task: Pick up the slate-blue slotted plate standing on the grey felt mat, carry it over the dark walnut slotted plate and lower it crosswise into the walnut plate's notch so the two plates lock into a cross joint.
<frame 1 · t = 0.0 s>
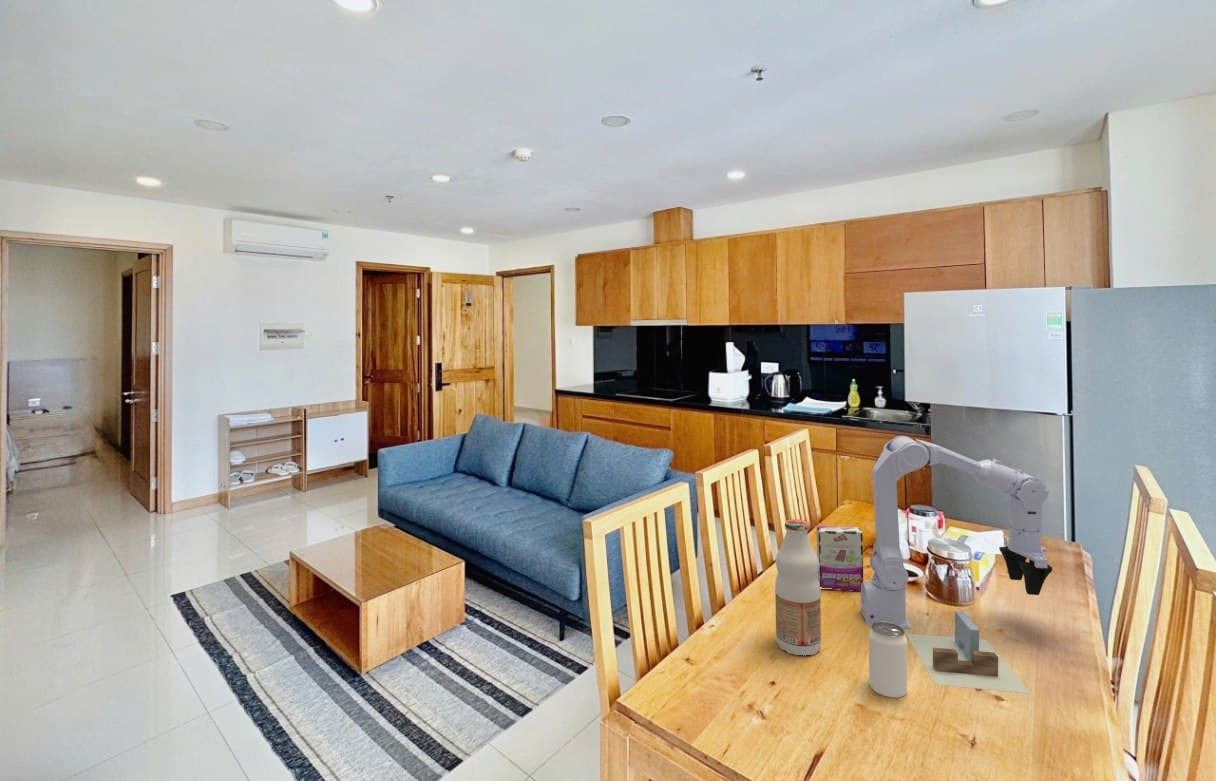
hand: (1023, 586, 122), 10 cm above the table, tool pointing down, fingers open, 7 cm apart
candy bar box: (839, 587, 148), on the table
felt mat: (962, 661, 112), on the table
blue slotted plate: (966, 652, 115), resting on felt mat
can: (887, 689, 104), on the table
fruit juice: (798, 646, 120), on the table
walnut slotted plate: (964, 671, 108), resting on felt mat
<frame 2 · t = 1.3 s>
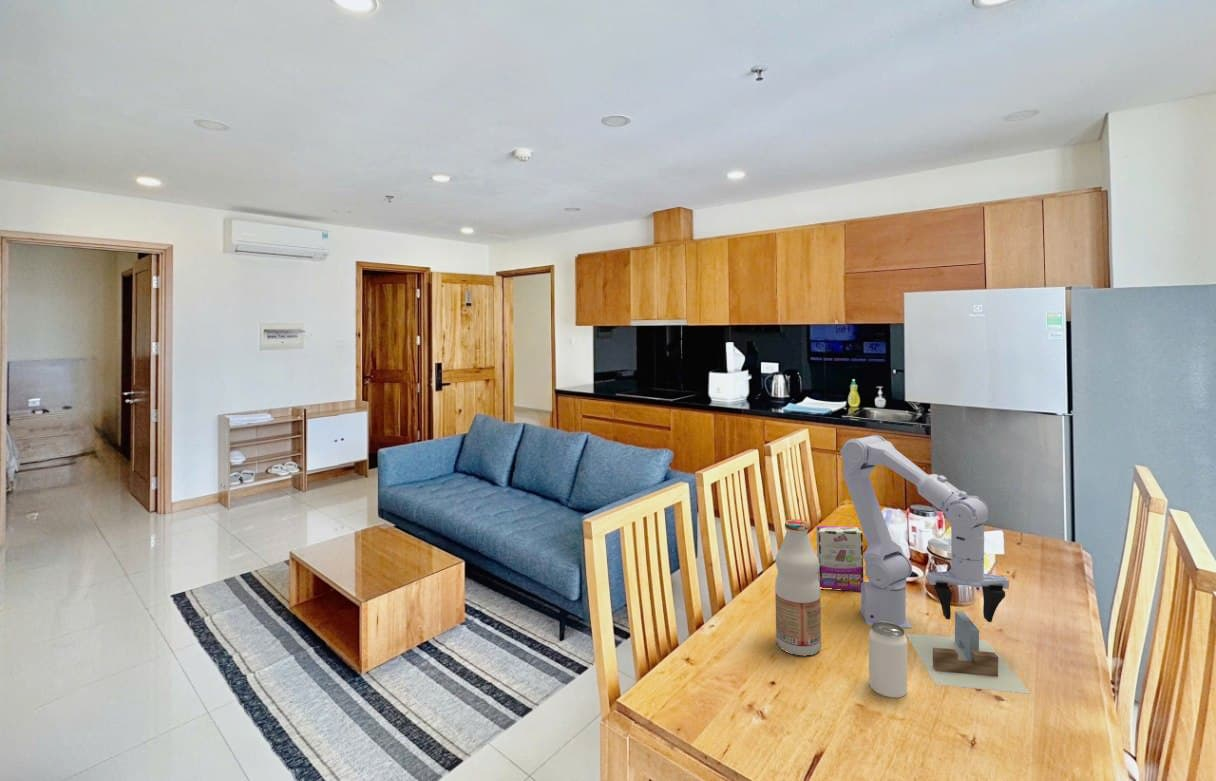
hand: (967, 618, 114), 8 cm above the table, tool pointing down, fingers open, 7 cm apart
nothing on the table moved.
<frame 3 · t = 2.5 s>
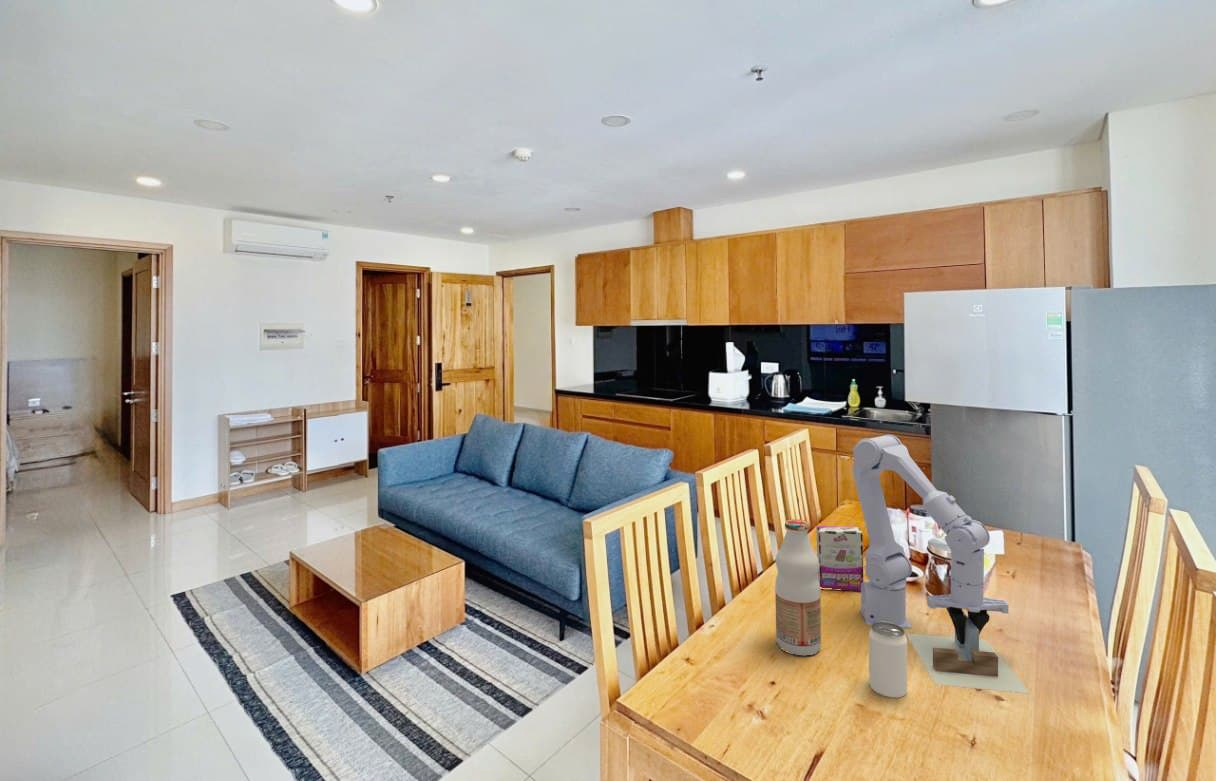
hand: (966, 642, 115), 3 cm above the table, tool pointing down, fingers closed on blue slotted plate, 2 cm apart
blue slotted plate: (966, 652, 115), resting on felt mat, touching gripper
everything else where it was.
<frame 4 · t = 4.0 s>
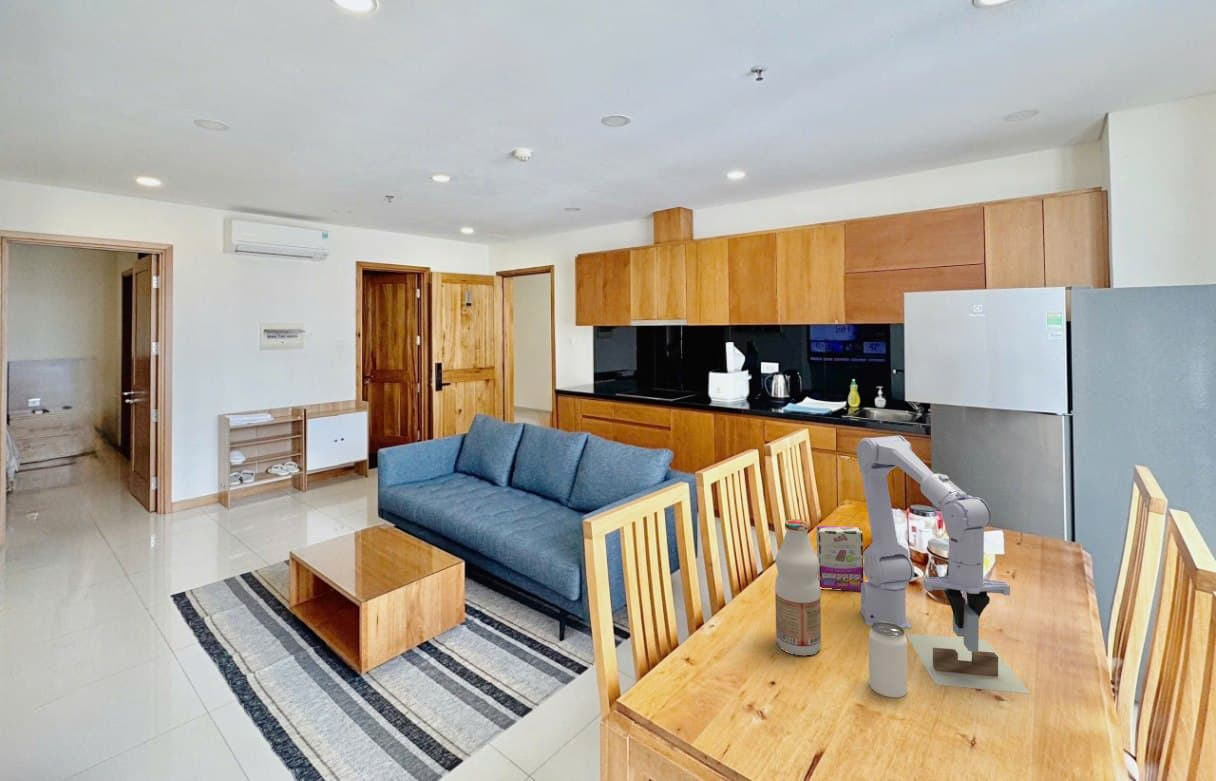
hand: (965, 626, 108), 10 cm above the table, tool pointing down, fingers closed on blue slotted plate
blue slotted plate: (965, 640, 108), point 7 cm above the table, touching gripper
everything else where it was.
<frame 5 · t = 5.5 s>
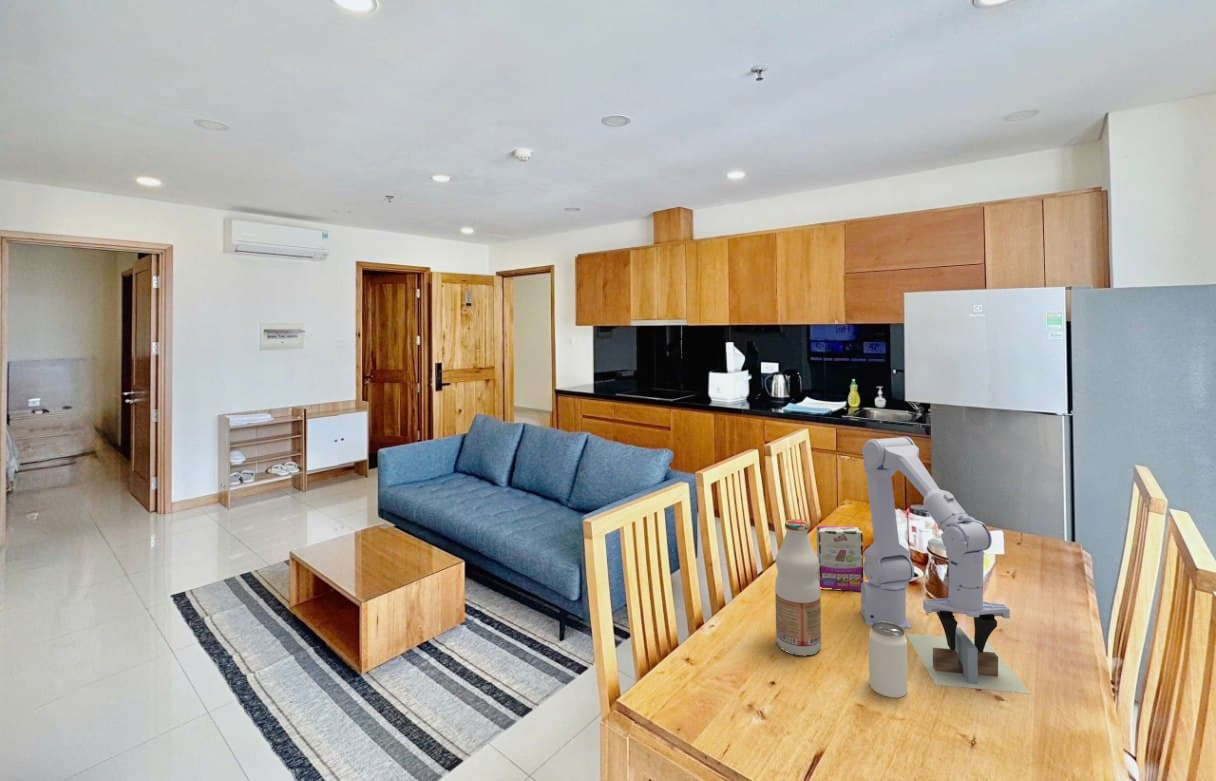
hand: (964, 648, 108), 5 cm above the table, tool pointing down, fingers open, 4 cm apart
blue slotted plate: (964, 671, 108), resting on felt mat
everything else where it was.
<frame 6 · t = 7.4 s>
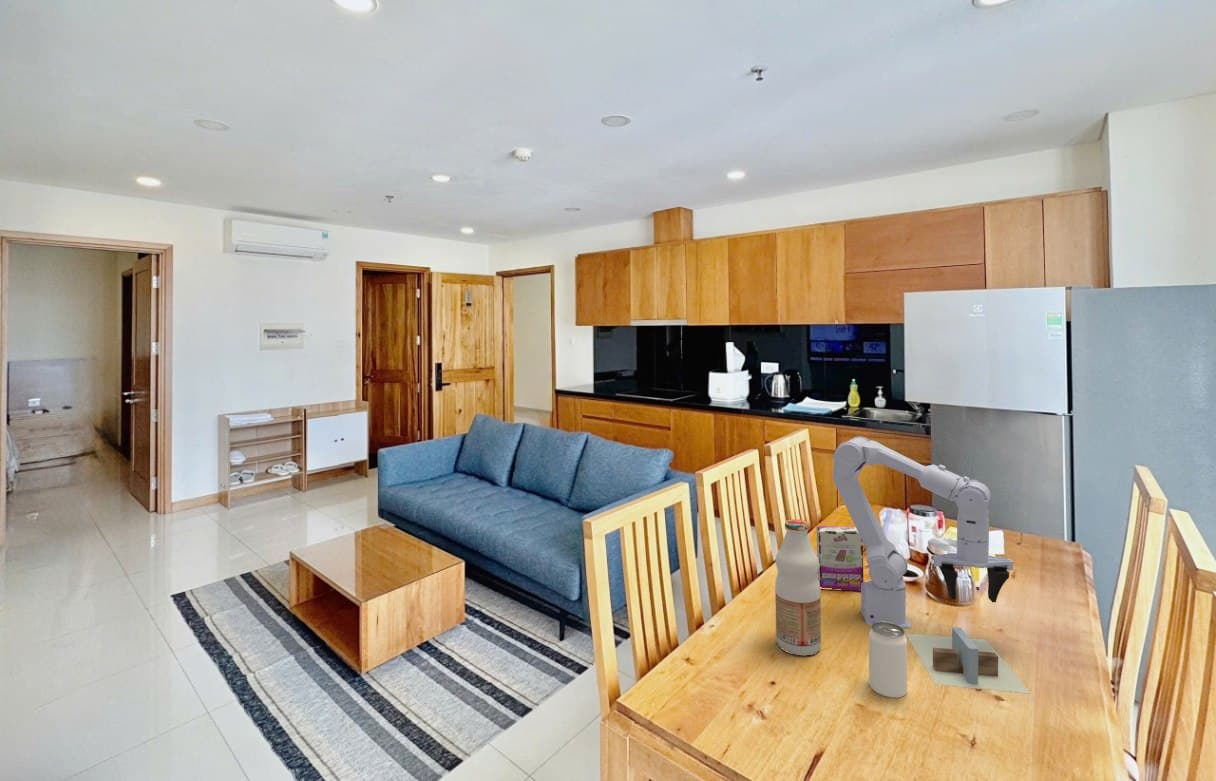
hand: (971, 598, 118), 10 cm above the table, tool pointing down, fingers open, 7 cm apart
nothing on the table moved.
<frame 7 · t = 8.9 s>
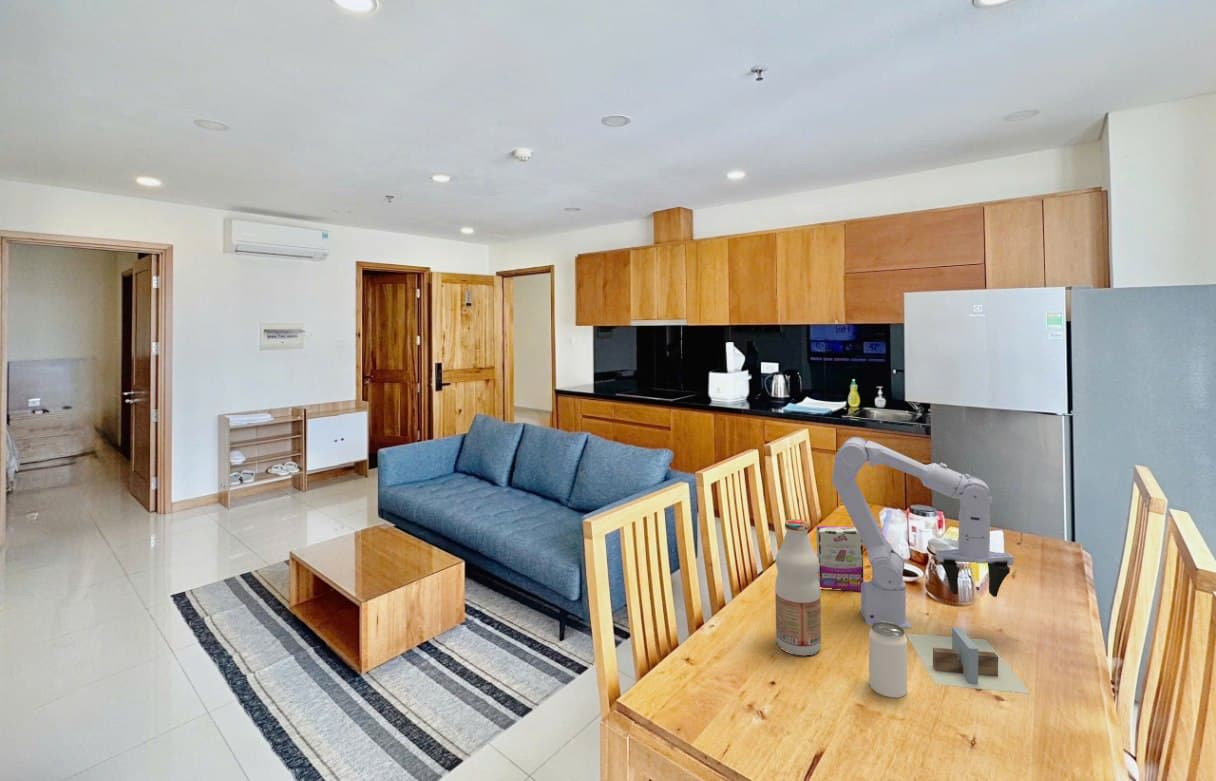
hand: (973, 593, 120), 10 cm above the table, tool pointing down, fingers open, 7 cm apart
nothing on the table moved.
at the end: blue slotted plate 0.1 cm off-centre on the walnut slotted plate, point 0.0 cm above the walnut slotted plate's base; blue slotted plate tilted 0°; the gripper is holding nothing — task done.
